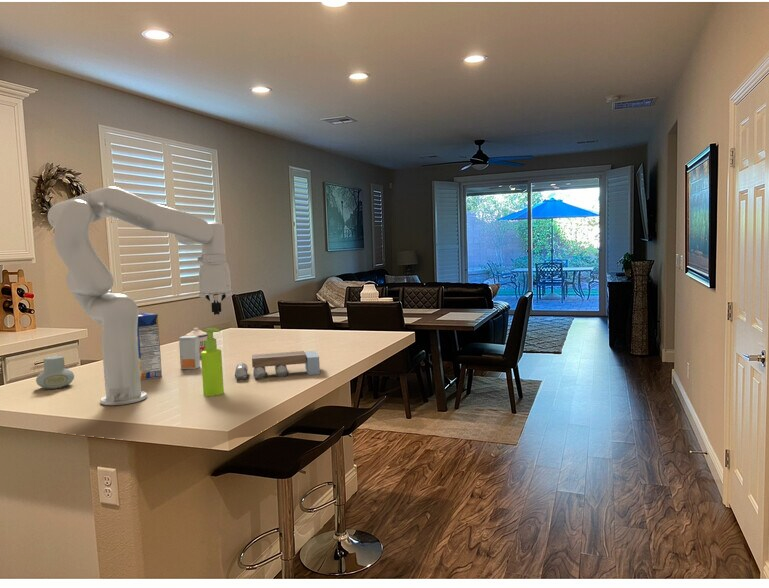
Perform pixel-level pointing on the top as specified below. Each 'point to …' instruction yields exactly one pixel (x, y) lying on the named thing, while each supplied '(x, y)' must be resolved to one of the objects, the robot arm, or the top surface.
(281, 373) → the roller
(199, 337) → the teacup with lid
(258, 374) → the roller middle
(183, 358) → the skincare box
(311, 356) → the stop block
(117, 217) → the robot arm
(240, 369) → the roller
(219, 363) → the soap dispenser
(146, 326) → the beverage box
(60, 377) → the air freshener
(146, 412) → the top surface
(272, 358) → the slab
